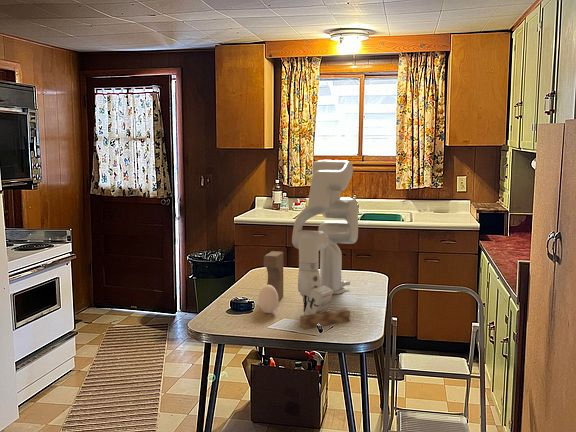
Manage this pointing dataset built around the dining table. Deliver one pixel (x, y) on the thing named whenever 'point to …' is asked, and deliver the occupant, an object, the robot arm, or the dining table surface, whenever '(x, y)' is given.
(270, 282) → the decorative block
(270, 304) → the egg
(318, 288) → the ink box
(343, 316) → the board
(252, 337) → the dining table surface
